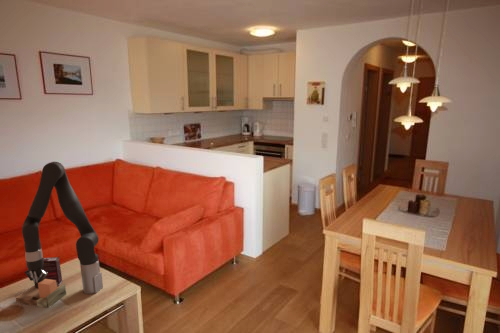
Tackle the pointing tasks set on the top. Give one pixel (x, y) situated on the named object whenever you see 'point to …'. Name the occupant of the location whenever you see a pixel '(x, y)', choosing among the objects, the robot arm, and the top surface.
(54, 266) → the supplement box
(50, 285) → the block
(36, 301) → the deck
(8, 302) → the top surface
